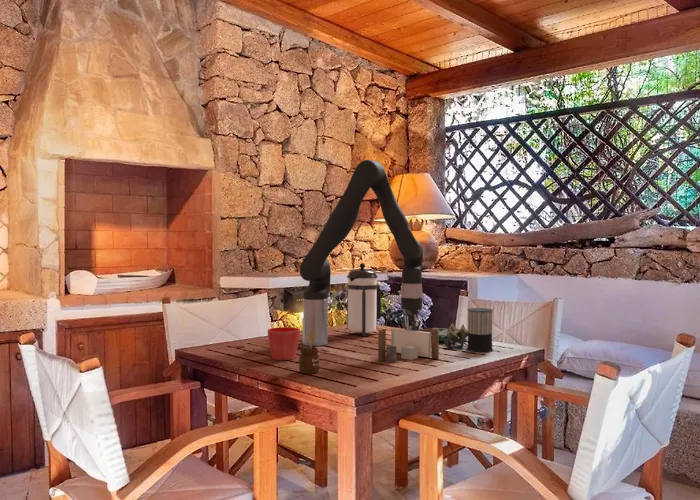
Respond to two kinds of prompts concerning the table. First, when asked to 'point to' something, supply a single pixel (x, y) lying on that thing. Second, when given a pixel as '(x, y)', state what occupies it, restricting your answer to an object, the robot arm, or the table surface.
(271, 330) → the flower pot
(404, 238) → the robot arm
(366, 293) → the coffee press
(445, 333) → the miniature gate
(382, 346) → the gate posts
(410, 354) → the block
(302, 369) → the jar with wooden spoon
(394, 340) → the panel
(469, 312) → the milk frother
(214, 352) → the table surface
